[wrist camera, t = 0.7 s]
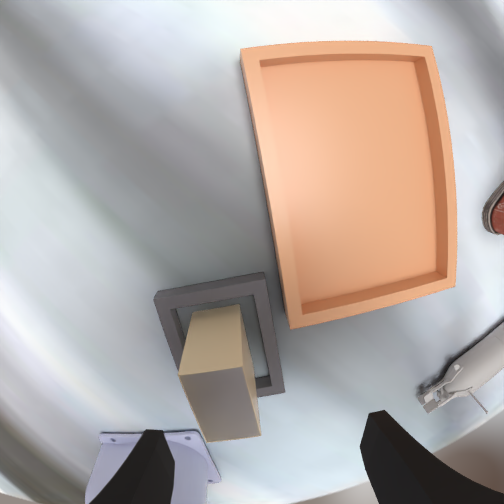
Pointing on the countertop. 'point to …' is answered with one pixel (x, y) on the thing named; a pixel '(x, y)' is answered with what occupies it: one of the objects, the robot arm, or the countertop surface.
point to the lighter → (494, 212)
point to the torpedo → (469, 371)
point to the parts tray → (354, 173)
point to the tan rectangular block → (220, 375)
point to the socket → (217, 292)
